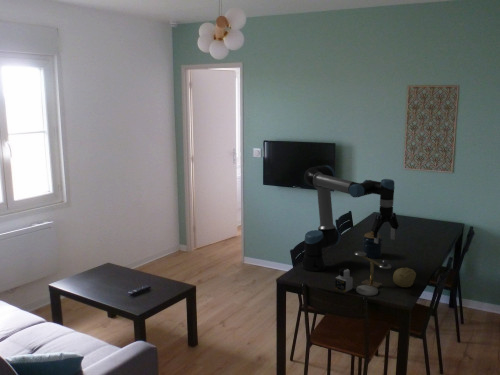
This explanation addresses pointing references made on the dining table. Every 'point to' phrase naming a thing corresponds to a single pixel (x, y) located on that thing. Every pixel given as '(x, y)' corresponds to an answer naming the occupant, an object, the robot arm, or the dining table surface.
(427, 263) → the dining table surface
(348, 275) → the grey piece
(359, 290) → the dish
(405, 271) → the olive brown dome
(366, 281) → the balance
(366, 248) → the canister
